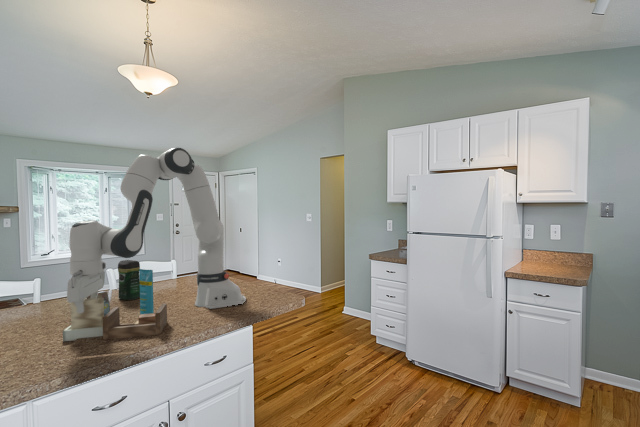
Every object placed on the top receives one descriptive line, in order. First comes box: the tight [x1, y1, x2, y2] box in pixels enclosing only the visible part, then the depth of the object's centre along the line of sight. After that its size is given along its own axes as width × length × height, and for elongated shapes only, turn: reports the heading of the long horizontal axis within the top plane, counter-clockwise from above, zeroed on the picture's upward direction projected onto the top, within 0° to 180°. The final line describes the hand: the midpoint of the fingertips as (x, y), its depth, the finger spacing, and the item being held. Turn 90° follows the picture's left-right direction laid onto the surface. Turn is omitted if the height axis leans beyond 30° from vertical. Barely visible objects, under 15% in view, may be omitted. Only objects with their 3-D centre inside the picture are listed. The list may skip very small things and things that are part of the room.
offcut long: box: [134, 320, 156, 325], centre depth 120 cm, size 7×4×2 cm, turn 104°
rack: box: [102, 302, 168, 340], centre depth 117 cm, size 18×11×8 cm, turn 104°
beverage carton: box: [86, 291, 111, 316], centre depth 140 cm, size 8×19×7 cm, turn 35°
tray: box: [62, 324, 103, 342], centre depth 114 cm, size 12×6×4 cm, turn 104°
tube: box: [139, 268, 155, 316], centre depth 133 cm, size 7×5×19 cm, turn 72°
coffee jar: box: [117, 259, 141, 301], centre depth 159 cm, size 10×8×19 cm
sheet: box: [70, 298, 104, 329], centre depth 114 cm, size 9×2×12 cm, turn 104°
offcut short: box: [138, 312, 156, 324], centre depth 120 cm, size 6×4×2 cm
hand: (87, 308), depth 113 cm, fingers open, 8 cm apart
